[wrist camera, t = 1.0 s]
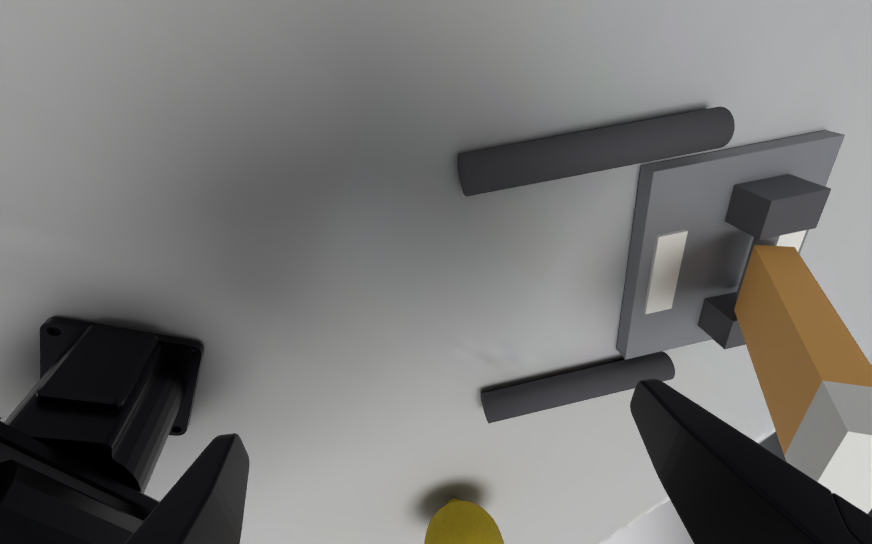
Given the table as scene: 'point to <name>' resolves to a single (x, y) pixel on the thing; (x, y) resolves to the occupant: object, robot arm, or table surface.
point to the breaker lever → (808, 371)
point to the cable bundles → (579, 158)
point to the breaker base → (714, 235)
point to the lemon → (462, 525)
